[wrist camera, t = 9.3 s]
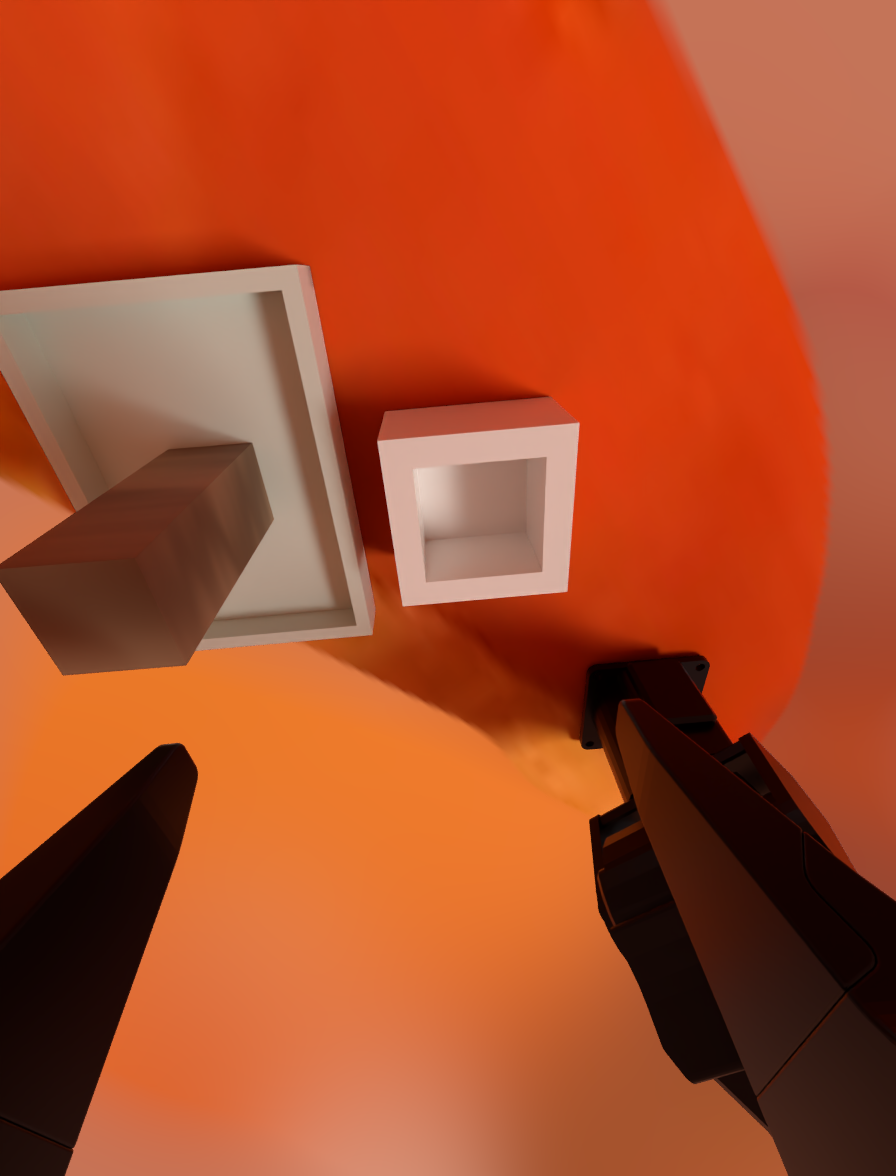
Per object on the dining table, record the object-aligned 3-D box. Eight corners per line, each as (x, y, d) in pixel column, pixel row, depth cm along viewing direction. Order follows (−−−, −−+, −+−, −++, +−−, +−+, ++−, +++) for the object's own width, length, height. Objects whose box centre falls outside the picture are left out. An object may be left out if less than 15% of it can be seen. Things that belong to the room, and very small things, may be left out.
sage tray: (375, 609, 24) (372, 634, 22) (171, 627, 24) (152, 654, 22) (309, 266, 16) (296, 264, 14) (8, 292, 16) (-41, 294, 14)
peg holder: (544, 543, 22) (567, 591, 19) (405, 556, 22) (402, 606, 19) (550, 396, 19) (579, 422, 15) (384, 411, 19) (377, 441, 15)
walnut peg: (274, 519, 20) (186, 665, 13) (197, 525, 20) (62, 675, 12) (252, 442, 18) (135, 558, 11) (168, 449, 18) (-9, 569, 11)
